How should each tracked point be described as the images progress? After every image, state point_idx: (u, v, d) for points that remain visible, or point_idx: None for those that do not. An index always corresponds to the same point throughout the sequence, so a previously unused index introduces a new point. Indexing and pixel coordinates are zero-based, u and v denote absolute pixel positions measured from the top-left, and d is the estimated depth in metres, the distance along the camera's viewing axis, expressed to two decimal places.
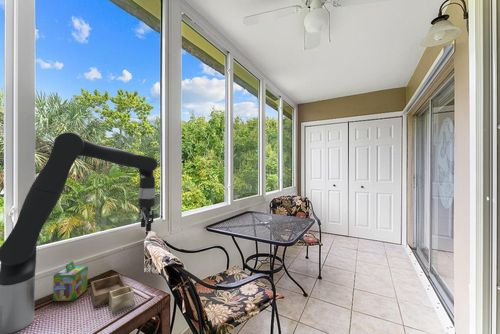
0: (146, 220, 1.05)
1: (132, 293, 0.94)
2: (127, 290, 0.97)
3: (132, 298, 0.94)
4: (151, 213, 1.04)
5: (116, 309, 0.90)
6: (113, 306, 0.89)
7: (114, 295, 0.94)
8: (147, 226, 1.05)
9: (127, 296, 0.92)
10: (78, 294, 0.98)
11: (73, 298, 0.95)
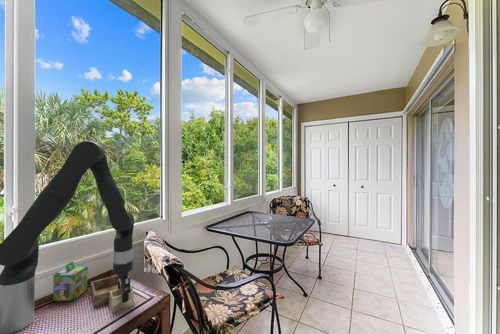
0: (122, 290, 0.89)
1: (132, 293, 0.94)
2: None
3: (132, 298, 0.94)
4: (127, 282, 0.88)
5: (116, 309, 0.90)
6: (113, 306, 0.89)
7: (114, 295, 0.94)
8: (123, 296, 0.89)
9: None
10: (78, 294, 0.98)
11: (73, 298, 0.95)
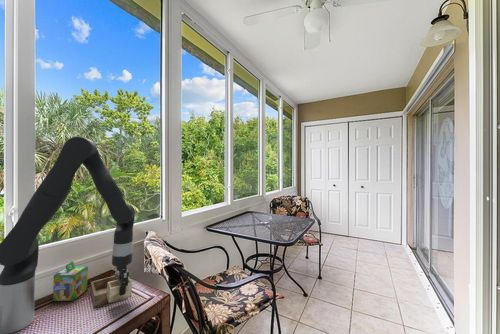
0: (120, 283, 0.90)
1: (130, 284, 0.93)
2: None
3: (130, 289, 0.93)
4: (126, 276, 0.88)
5: (114, 300, 0.89)
6: (111, 296, 0.88)
7: (112, 286, 0.93)
8: (121, 289, 0.90)
9: None
10: (78, 294, 0.98)
11: (73, 298, 0.95)
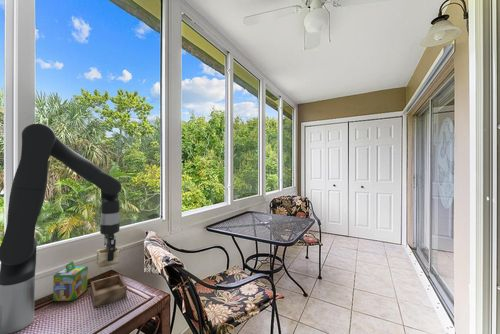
0: (107, 249, 0.97)
1: (118, 252, 1.00)
2: None
3: (118, 256, 1.00)
4: (113, 243, 0.95)
5: (102, 265, 0.96)
6: (100, 262, 0.96)
7: None
8: (109, 256, 0.97)
9: None
10: (78, 294, 0.98)
11: (73, 298, 0.95)
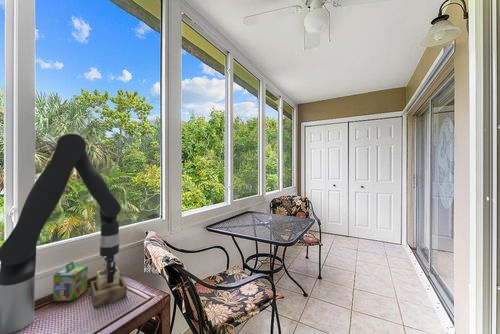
0: (107, 272, 0.97)
1: (118, 273, 1.00)
2: None
3: (118, 278, 1.00)
4: (112, 265, 0.96)
5: (102, 287, 0.97)
6: (99, 284, 0.96)
7: (101, 275, 1.01)
8: (108, 278, 0.97)
9: (113, 276, 0.99)
10: (78, 294, 0.98)
11: (73, 298, 0.95)
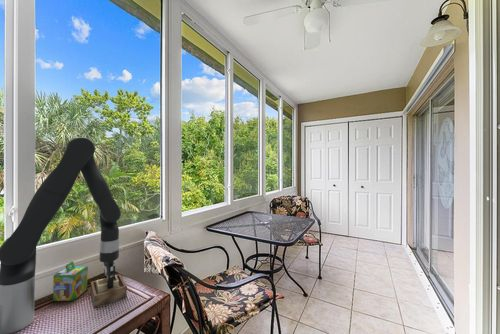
0: (107, 277, 0.96)
1: (117, 282, 1.00)
2: None
3: (117, 287, 1.00)
4: (112, 269, 0.96)
5: None
6: (99, 293, 0.96)
7: (100, 284, 1.01)
8: (108, 283, 0.96)
9: None
10: (78, 294, 0.98)
11: (73, 298, 0.95)
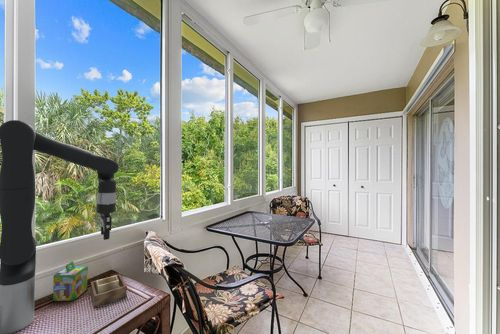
0: (103, 227, 0.97)
1: (117, 282, 1.00)
2: (113, 279, 1.04)
3: (117, 287, 1.00)
4: (109, 220, 0.96)
5: None
6: (99, 293, 0.96)
7: (100, 284, 1.01)
8: (105, 234, 0.97)
9: (112, 285, 0.99)
10: (78, 294, 0.98)
11: (73, 298, 0.95)
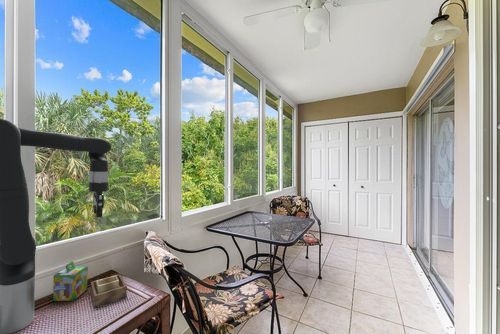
0: (96, 205, 0.98)
1: (117, 282, 1.00)
2: (113, 279, 1.04)
3: (117, 287, 1.00)
4: (101, 198, 0.98)
5: None
6: (99, 293, 0.96)
7: (100, 284, 1.01)
8: (97, 212, 0.99)
9: (112, 285, 0.99)
10: (78, 294, 0.98)
11: (73, 298, 0.95)
